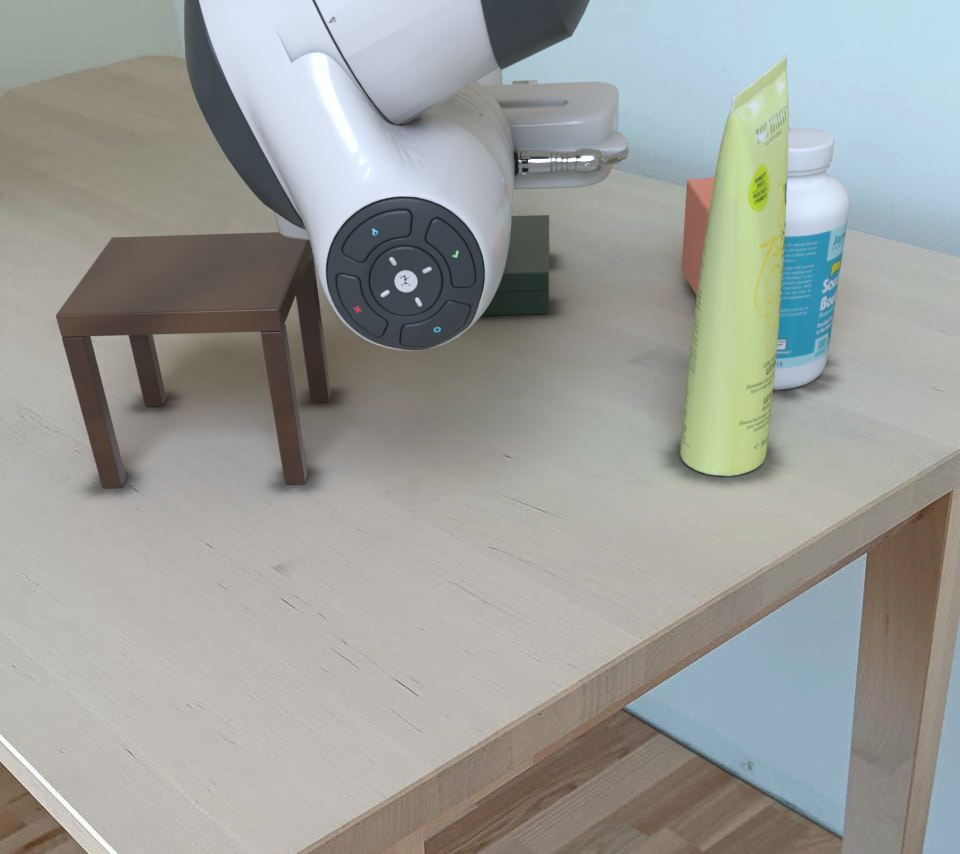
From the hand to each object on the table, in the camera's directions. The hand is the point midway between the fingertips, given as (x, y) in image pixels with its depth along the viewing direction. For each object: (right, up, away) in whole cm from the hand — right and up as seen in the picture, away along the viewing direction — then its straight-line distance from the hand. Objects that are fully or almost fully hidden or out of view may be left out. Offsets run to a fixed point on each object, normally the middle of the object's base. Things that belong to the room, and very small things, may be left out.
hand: (446, 98), depth 76 cm
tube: (+16, -23, -3) cm, 28 cm away
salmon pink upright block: (+21, -6, +14) cm, 26 cm away
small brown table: (-14, -20, +2) cm, 24 cm away
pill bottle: (+20, -14, +6) cm, 26 cm away
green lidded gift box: (+1, -3, +18) cm, 18 cm away
